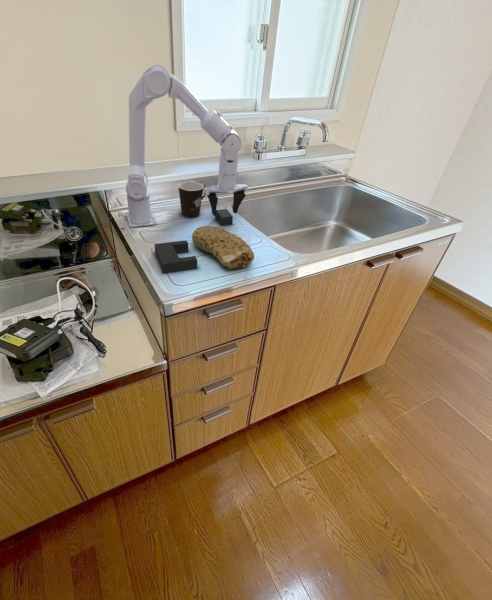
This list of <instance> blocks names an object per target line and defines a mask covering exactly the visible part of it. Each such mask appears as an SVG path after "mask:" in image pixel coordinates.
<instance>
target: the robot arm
mask: <svg viewBox="0 0 492 600" xmlns="http://www.w3.org/2000/svg"><path fill="white" fill-rule="evenodd" d="M166 95H168V98H169V99H174V100H175V99H176V100H179V101H180V102H181V103H182V104H183V105H184V106H186V107H187V108H188V110H190V112H192V114H194V115H195V116H196V117H197V118H198V119H199V120H200V128H201V129H202V130H203V131H204V132H205V133H206V134H208V135H209V137H211V139H212V140H214V141H215V143H218V144H219V146H220V147H221V148H220V157H219V163H218V178H217V179H218V180H217V184H215V185H210V186H206V187H205V188H204V190H203V194H204V193H205V194H206V195H205V196H207V198H208V201H209V204H210V208H211V214H212V215H213V217H214V216H216V210H217V206H218V202H219V198H218V197H217V196H218V195H217V194H232V196H233V199H232V200H233V203H232V213H233V214H235V215H236V214H238V210H239V208H240V205H241V204H242V202H243V200H244V199H245V198H246V193H248V191H249V190H248V189H249V186H248V185H247V184H241V183H237V176H238V175H237V174H238V165H239V152H240V151H241V149H242V147H243V145H242V140H241V137H240V136H239V134H238V133H237V132H236V130H235V129H234V127H233V125H231V124H228V122H226V120H225V119H224V118H223V117H222V113H221V112H220V111H219V110H217V111H216V110H215V109H207V108H206V107H205V106H204V104H203V103H202V102H201V100H199V99H198V98H197V97H196V96H195V94H193V92H192V91H191V90H190V89H189V88H188V87H187V86H186V85H185V84H184V83H183V82H182V81H181V80H180V79H179V78H178V77H176V76H175V75H174V74H173V73H172V72H170V73H169V72H168V70H167V68H166V67H164V66H163V65H160V64H154V65H152V66H151V67H149V68H148V69H146V70H145V71H144V72H143V73H142V75H141V76H140V78H138V81H137V82H136V84H135V86H134V87H133V88H132V90H131V92H130V93H129V95H128V143H129V145H128V149H129V151H128V153H129V154H128V155H129V157H128V158H129V168H128V177H127V181H126V184H125V192H126V200H127V201H126V203H127V211H128V213H127V214H126V219H127V221H128V224H129V227H130V228H136V227H137V228H138V227H146V226H147V227H149V226H155V221H154V220H153V218H152V212H151V211H152V210H151V198H150V192H149V191H148V183H149V179H148V176H147V174H146V124H147V123H146V122H147V121H146V119H147V118H146V113H147V106H148V105H150V104H151V103H152V102H154V100H157V99H160V98H162V97H165V96H166Z"/></svg>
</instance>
